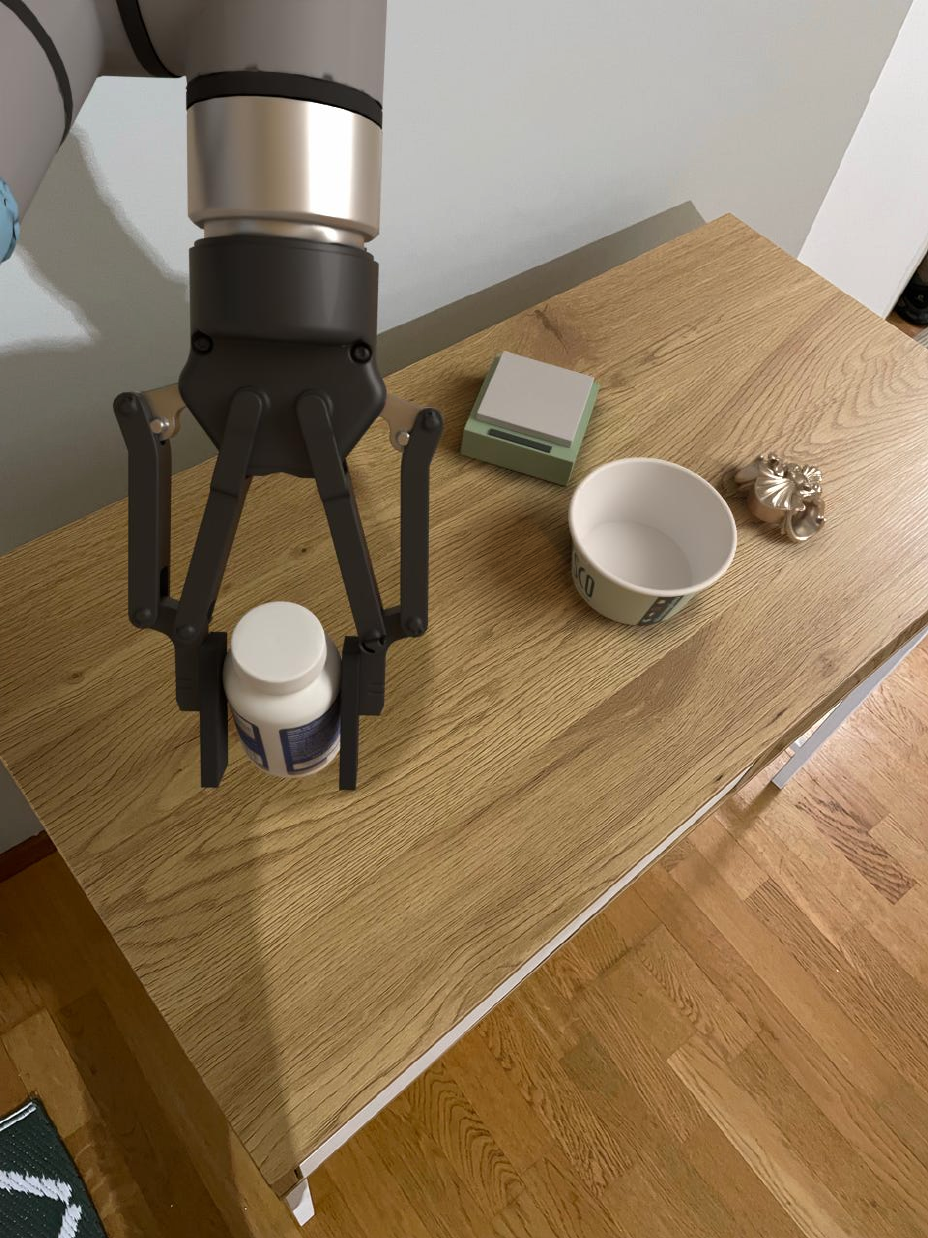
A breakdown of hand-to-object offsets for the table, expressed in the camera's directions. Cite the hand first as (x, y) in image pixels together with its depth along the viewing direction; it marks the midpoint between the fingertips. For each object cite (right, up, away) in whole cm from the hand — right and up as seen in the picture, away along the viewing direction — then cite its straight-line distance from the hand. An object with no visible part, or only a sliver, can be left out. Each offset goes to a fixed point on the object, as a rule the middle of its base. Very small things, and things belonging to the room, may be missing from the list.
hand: (282, 775), depth 43 cm
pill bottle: (0, +1, +5) cm, 5 cm away
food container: (+21, +11, +28) cm, 37 cm away
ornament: (+34, +16, +33) cm, 50 cm away
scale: (+14, +23, +34) cm, 43 cm away
